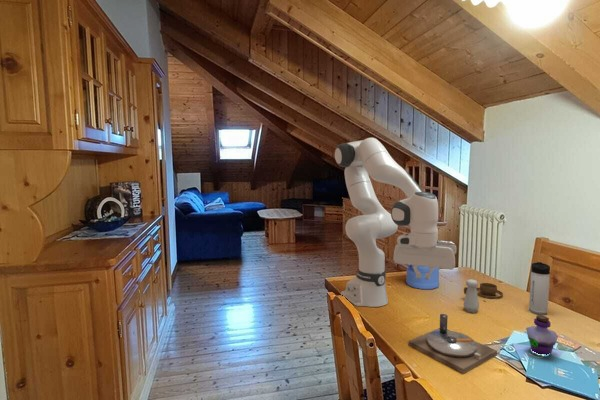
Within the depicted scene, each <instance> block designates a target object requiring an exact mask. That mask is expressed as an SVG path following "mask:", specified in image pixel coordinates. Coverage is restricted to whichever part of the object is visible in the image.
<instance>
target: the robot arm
mask: <svg viewBox="0 0 600 400" xmlns="http://www.w3.org/2000/svg"><path fill="white" fill-rule="evenodd" d="M334 160H335V162H336V164H337V165H338V166H339V167H341V168H344V180H345V185H346V189H347V192H348V196H349V198H350V199H349V200H350V202H351V205H352V207H354V208H355V209H357V210H359V211H360V213H362V215H357V216H354V217H351V218H349V219H347V222H346V223H345V228H344V229H345V233H346V236H347V237H348V238H349V239H350V240H351V241H352V242H353V243H354V244H355V246H356V248H357V252H358V268H356V269H355V270H354V273H356V275H355V276H354V277H353V278H351V279H350V280H348V281H347V282H346V284H345V289H344V290H342V291H341V292H340V294H341V295H343V296H345V297H346V298H347V299H348V300H347V299H346V298H345V299H346V300H347V301H349V302H350V303H352V304H353V305H354V306H356V307H369V308H370V307H371V308H372V307H373V308H376V307H377V308H378V307H383V306H385V305H387V304H388V303H389V300H388V294H387V287H386V278H387V274H386V273H387V272H386V269H385V263H386V260H385V255H386V254H385V252H384V250H382V249H381V248H379V247H378V246H377V242H376V240H377V239H378V240H379V239H383V238H385V239H386V238H387V237H390V236H392V235H394V234H395V233H397V231H398V227H410V232H409V233H404V234H400V235H399V236H398V237H397V239H396V243H397V244H396V245H395V246H394V250H393V257H392V258H393V262H394V263H395V264H397V265H398V264H399V265H407V266H408V265H412V267H413V269H414V271H415V273H416V278H421V272H419V271H418V269H417V267H418V266H424V267H429V270H430V272H429V273H426V274H425V279H429V280H430V274H431V273H432V272H433V270H434V268H439V269H443V270H453V269H454V268H456V256H455V255H456V254H457V252H458V251H457V249H458V248H457V245H456V243H454V242H452V241H448V240H447V241H446V240H439V237H438V235H439V229H438V221H439V214H440V208H439V200H438V199H437V196H436V195H435V194H434V193H432V192H428V191H424V190H423V189H422V188H421V186H420V185H419V184H418V182H417V181H416V180H415V179H414V177H413V176H412V175H411V174H410V173H409V172H408V171H407V170H405V168H403V167H402V166H401V165H400V164H398V163H397V162H396V161H395V159H394V158H393V157H392V156H391V155H390V153H389V152H388V150H387V149H386V147H385V146H384V144H382V143H381V141H379V140H378V139H377V138H375V137H367V138H365V139H362V140H361V139H360V140H356V141H350V142H343V143H340V144H338V145H337V146H336V147H335V149H334ZM371 179H372V180H374V181H376V182H378V183H383V184H387V185H391V186H394V187H396V188H398V189H400V190H401V191H402V192H403V193H404V194H405V196H406V197H407V198H404V199H401V200H398V201H397V200H396V201H395V202H394V203H393V204H392V206H391V208H390V212H389V211H388V210H386V209H385V208H384V207H383V205H382V204H381V203H380V201H379V199H378V198H377V194H376V193H375V191H374V190H375V189H374V187H373V184H372V181H371ZM341 295H340V296H341ZM343 296H342V297H343Z"/></svg>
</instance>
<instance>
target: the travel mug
mask: <svg viewBox="0 0 600 400" xmlns="http://www.w3.org/2000/svg"><path fill="white" fill-rule="evenodd" d="M530 272H531V273H530V287H529V303H528V305H529V306H528V311H529V312H530V313H532V314H534V315H536V316H537V315H541V316H546V315H548V313H549V311H548V310H549V296H550V295H549V294H550V293H549V292H550V281H551V279H550V277H551V276H550V275H551V266H550V265H549V264H547V263H544V262H541V261H536V262H533V263H531V271H530Z"/></svg>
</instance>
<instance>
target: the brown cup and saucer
mask: <svg viewBox="0 0 600 400" xmlns="http://www.w3.org/2000/svg"><path fill="white" fill-rule="evenodd" d="M467 288H468V286H467V287H464V288H463V294H464V295H466V292H467ZM476 289H477V296H478V297H480V298H484V299H489V300H500V299H501V298H503V296H504V293H503V292H502V291H500V290H498V286H497V285H496V284H495V283H494V284H493V283H491V282H490V283H489V282H481V283H480V284H479V287H478V286H477V287H476ZM479 292H481V293H482V294H481V293H479ZM495 294H498V295H499V296H498V295H497V296H493V295H495ZM482 301H483V302H485V303H486V302H487V301H486V300H482Z"/></svg>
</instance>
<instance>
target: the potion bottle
mask: <svg viewBox="0 0 600 400" xmlns="http://www.w3.org/2000/svg"><path fill="white" fill-rule="evenodd" d="M533 323H534V325H535V326H534V325H531V326H528V327H525V330H526V333H527V334H526V335H527V339H528V340H529V345H530V349H532V351H534V352H536V353H538V354H546V355H547V354H549V353H551V354H552V353H553V349H554V346H556V344H557V340H558V337H559V336H558V334H557V333H556V331H554V330H551V329H549V328H550V327H551V322H550V318H549V317H548V316H546V315H537V314H536V316H535V318H534V319H533Z"/></svg>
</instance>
